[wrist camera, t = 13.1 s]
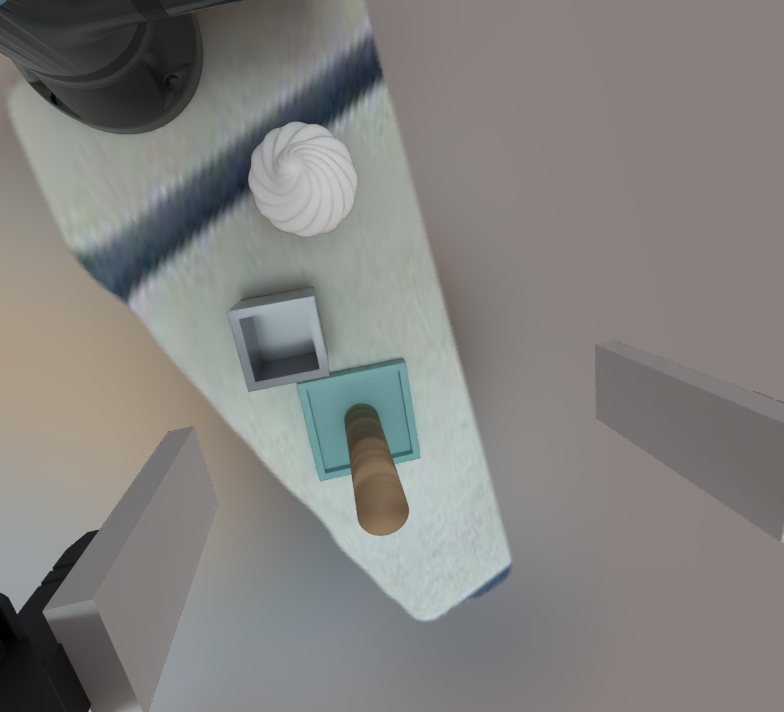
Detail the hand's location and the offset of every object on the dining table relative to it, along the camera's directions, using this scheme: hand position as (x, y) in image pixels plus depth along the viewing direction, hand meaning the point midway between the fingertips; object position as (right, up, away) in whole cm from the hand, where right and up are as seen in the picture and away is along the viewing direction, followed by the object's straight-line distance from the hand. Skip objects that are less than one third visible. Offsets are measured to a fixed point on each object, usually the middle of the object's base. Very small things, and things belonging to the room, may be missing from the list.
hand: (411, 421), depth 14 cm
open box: (-12, +5, +34) cm, 36 cm away
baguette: (-4, -5, +37) cm, 38 cm away
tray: (-4, -5, +38) cm, 39 cm away
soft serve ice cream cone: (-9, +18, +31) cm, 37 cm away
